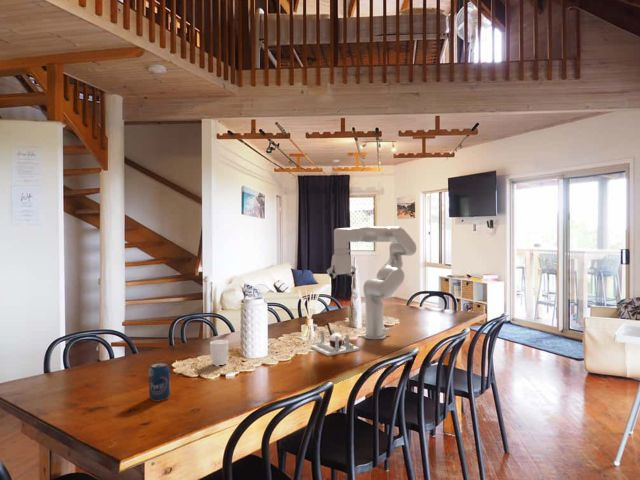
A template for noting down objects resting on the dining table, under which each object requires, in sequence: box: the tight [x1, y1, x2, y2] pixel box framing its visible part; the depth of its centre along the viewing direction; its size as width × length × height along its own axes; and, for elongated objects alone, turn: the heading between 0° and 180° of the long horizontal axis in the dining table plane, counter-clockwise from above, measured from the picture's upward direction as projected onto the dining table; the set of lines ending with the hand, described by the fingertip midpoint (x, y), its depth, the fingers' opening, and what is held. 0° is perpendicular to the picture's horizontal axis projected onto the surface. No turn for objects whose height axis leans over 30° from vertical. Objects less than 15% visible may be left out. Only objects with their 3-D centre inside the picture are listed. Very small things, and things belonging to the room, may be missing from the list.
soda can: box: [148, 361, 171, 402], centre depth 157 cm, size 7×7×12 cm
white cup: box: [209, 339, 229, 365], centre depth 195 cm, size 8×8×10 cm
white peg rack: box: [310, 328, 360, 357], centre depth 217 cm, size 18×16×8 cm
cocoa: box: [325, 320, 345, 348], centre depth 217 cm, size 10×6×12 cm, turn 42°
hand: (341, 285), depth 227 cm, fingers open, 9 cm apart
